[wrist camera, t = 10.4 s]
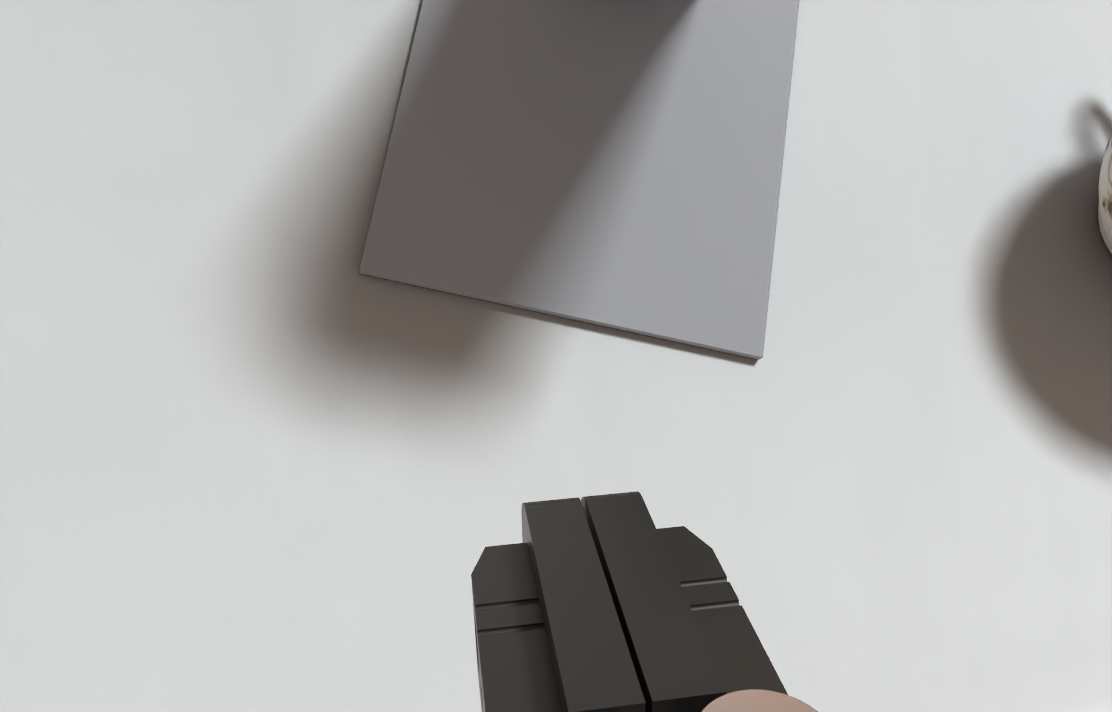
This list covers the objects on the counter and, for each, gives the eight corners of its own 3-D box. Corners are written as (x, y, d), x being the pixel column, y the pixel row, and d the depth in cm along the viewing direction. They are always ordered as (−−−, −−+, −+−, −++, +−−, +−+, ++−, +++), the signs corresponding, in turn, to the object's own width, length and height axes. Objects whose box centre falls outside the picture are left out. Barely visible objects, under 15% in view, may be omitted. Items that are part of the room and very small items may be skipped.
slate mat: (359, 273, 34) (359, 269, 34) (468, -188, 40) (469, -195, 40) (758, 359, 36) (762, 357, 36) (805, -89, 42) (809, -95, 42)
